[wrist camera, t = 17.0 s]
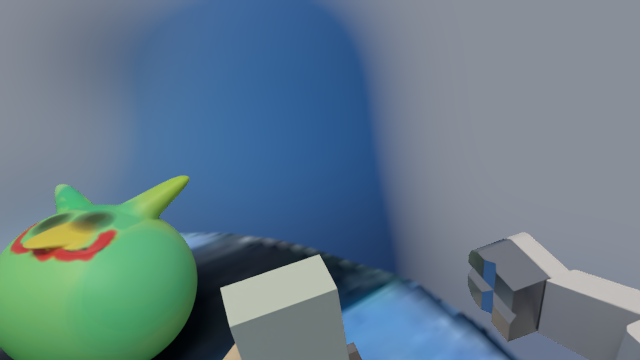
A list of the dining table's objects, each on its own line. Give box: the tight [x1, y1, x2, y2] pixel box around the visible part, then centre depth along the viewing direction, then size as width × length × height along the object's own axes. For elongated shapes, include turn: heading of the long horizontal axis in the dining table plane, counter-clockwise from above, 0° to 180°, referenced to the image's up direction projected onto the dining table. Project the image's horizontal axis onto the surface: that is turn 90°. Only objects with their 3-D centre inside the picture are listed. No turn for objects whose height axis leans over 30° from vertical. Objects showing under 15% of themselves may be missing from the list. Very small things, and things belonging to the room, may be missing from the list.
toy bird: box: [0, 176, 197, 360], centre depth 45 cm, size 18×17×15 cm
